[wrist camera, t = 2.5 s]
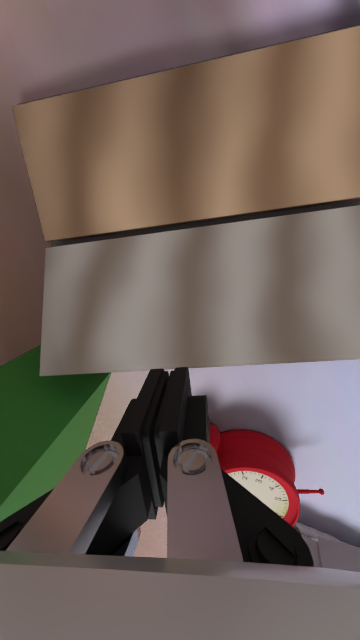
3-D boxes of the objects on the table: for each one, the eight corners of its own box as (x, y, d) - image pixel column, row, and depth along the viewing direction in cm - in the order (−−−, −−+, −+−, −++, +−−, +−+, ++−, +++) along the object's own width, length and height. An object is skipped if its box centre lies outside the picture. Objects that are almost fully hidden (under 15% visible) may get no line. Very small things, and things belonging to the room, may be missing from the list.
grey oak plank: (362, 216, 17) (376, 202, 15) (392, 356, 15) (411, 356, 14) (57, 256, 20) (45, 247, 19) (53, 374, 18) (39, 376, 17)
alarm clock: (286, 561, 23) (138, 548, 20) (259, 495, 29) (142, 478, 26) (341, 488, 20) (177, 460, 17) (299, 431, 26) (172, 403, 23)
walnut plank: (373, 41, 14) (391, 18, 13) (361, 199, 17) (375, 194, 15) (27, 118, 18) (11, 106, 16) (56, 242, 20) (44, 240, 19)
